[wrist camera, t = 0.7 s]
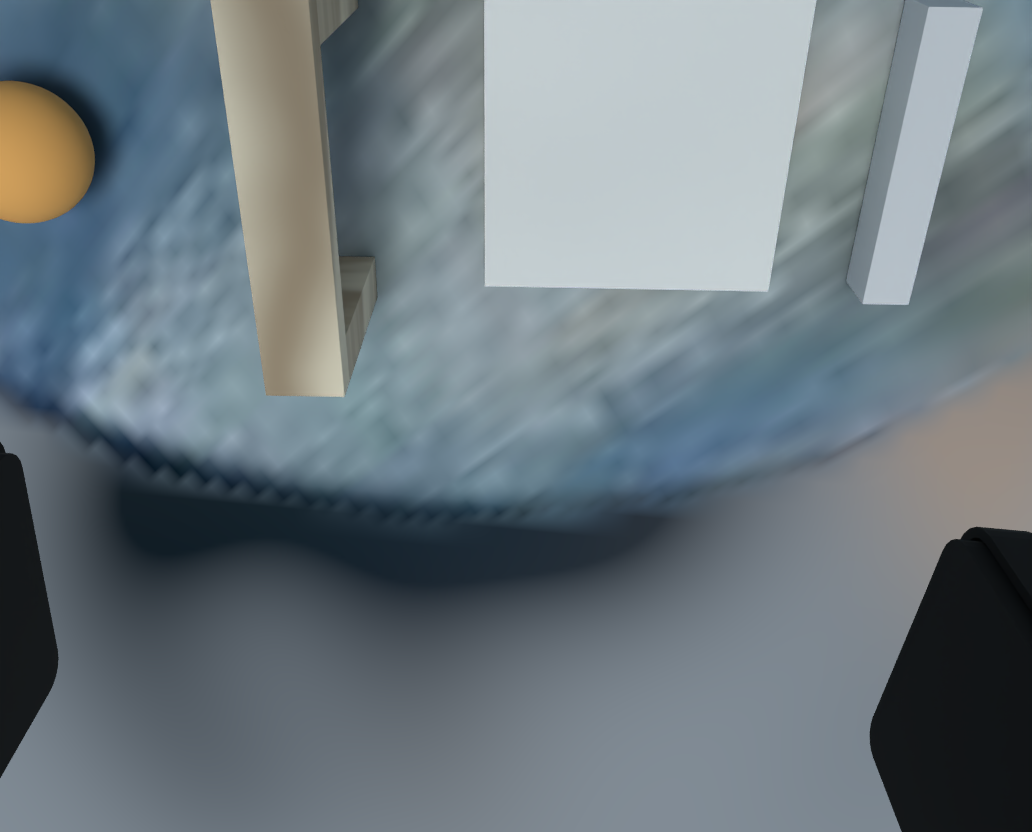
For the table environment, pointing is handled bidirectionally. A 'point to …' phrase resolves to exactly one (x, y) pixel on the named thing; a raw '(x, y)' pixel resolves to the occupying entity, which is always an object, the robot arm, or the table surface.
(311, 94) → the bridge
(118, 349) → the table surface
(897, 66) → the wall
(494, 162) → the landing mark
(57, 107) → the ball
